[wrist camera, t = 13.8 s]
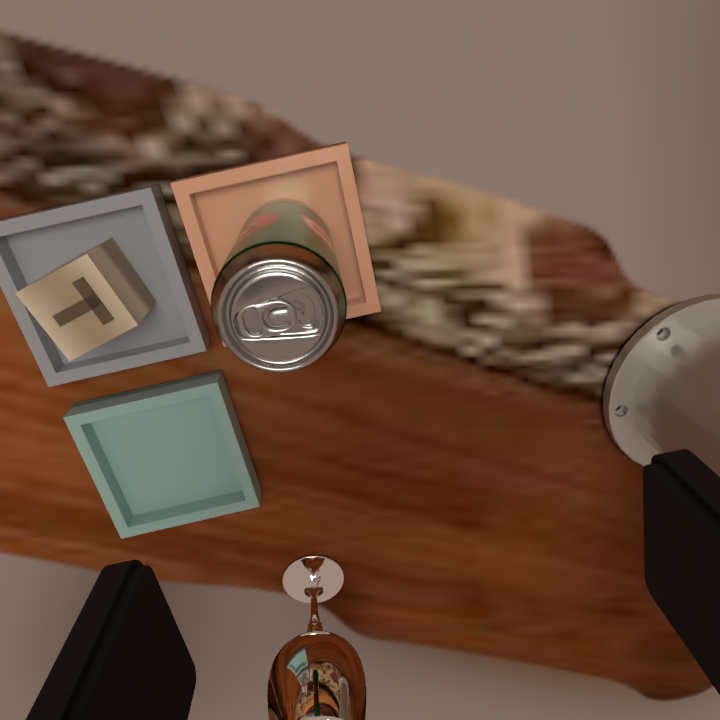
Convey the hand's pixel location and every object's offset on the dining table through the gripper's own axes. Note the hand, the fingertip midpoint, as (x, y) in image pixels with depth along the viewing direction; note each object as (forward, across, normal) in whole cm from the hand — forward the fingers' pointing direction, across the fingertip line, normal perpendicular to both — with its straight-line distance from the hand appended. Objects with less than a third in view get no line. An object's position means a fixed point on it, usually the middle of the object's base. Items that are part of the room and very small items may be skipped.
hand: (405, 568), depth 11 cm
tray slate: (+23, +14, -2) cm, 27 cm away
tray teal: (+24, +14, +9) cm, 29 cm away
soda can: (+23, +3, -2) cm, 24 cm away
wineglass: (+24, +8, +22) cm, 33 cm away
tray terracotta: (+24, +4, -2) cm, 24 cm away
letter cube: (+23, +14, -2) cm, 27 cm away
